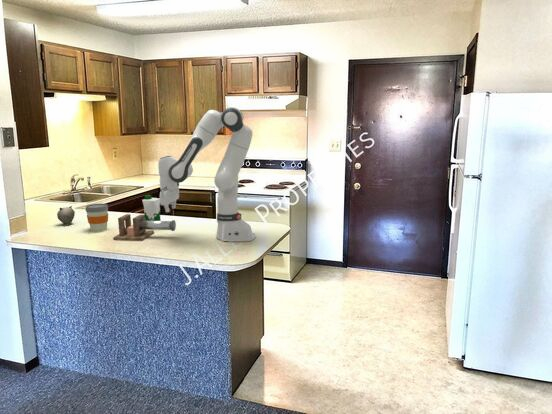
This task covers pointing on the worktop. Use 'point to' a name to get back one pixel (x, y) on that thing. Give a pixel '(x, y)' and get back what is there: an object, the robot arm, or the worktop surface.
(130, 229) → the spacer
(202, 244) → the worktop surface
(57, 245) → the worktop surface
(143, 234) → the bearing block
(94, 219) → the reusable coffee cup
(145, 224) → the shaft
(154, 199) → the milk carton
